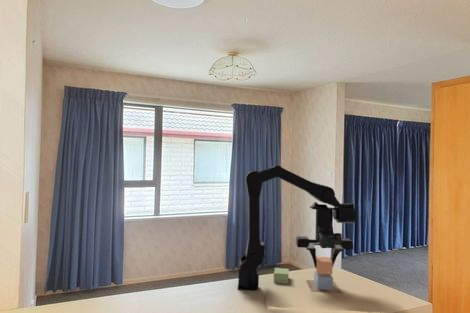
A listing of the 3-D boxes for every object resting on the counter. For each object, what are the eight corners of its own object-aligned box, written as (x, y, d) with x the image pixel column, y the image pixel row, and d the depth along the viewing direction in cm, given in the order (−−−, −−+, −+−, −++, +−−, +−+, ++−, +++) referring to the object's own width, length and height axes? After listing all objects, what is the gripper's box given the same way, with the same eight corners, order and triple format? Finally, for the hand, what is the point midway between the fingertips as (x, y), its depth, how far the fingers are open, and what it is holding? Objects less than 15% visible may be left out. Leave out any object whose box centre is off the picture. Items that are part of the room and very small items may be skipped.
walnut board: (311, 293, 113) (311, 291, 113) (306, 281, 125) (306, 280, 125) (342, 294, 113) (342, 293, 113) (334, 283, 125) (334, 281, 125)
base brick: (317, 289, 116) (317, 277, 116) (314, 282, 123) (314, 271, 123) (332, 290, 115) (333, 277, 116) (328, 283, 122) (328, 271, 123)
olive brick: (273, 284, 122) (273, 273, 122) (274, 278, 129) (275, 267, 129) (287, 285, 121) (288, 274, 121) (288, 279, 128) (288, 268, 128)
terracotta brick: (316, 273, 116) (317, 261, 116) (315, 267, 123) (315, 256, 123) (332, 274, 115) (332, 262, 116) (329, 268, 122) (329, 257, 122)
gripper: (299, 225, 112) (298, 273, 112) (358, 227, 111) (357, 276, 111) (296, 220, 124) (295, 264, 123) (349, 222, 122) (348, 266, 122)
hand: (323, 267), depth 119 cm, fingers closed on terracotta brick, 5 cm apart
